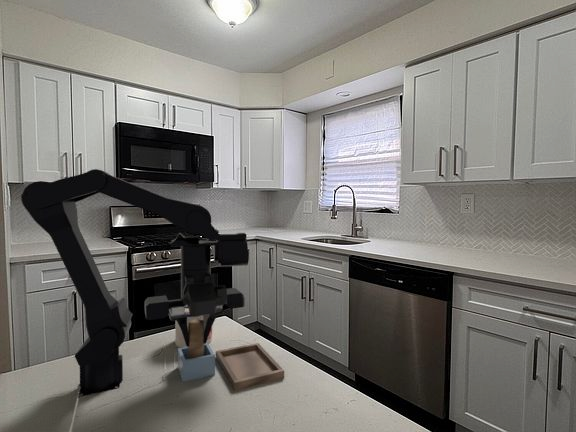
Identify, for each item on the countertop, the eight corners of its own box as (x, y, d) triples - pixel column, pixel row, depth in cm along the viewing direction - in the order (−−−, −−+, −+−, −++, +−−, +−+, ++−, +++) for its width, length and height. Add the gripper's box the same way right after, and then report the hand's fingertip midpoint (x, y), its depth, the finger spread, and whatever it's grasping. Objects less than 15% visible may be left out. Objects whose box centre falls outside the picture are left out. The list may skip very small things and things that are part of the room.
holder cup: (182, 385, 62) (182, 361, 62) (177, 369, 68) (177, 348, 68) (215, 377, 65) (215, 355, 65) (207, 363, 71) (207, 343, 71)
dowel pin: (189, 375, 65) (189, 325, 64) (187, 368, 67) (187, 320, 67) (205, 372, 66) (205, 323, 65) (201, 365, 69) (201, 318, 68)
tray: (234, 393, 60) (234, 382, 60) (215, 360, 72) (215, 351, 72) (284, 380, 64) (284, 370, 64) (258, 351, 77) (258, 342, 77)
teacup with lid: (207, 352, 76) (207, 302, 76) (168, 351, 76) (168, 301, 76) (219, 331, 88) (219, 288, 88) (185, 331, 88) (185, 288, 88)
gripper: (147, 281, 54) (148, 373, 55) (254, 271, 63) (253, 352, 63) (144, 268, 64) (144, 347, 65) (236, 261, 73) (236, 331, 73)
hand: (196, 344), depth 66 cm, fingers closed on dowel pin, 3 cm apart
